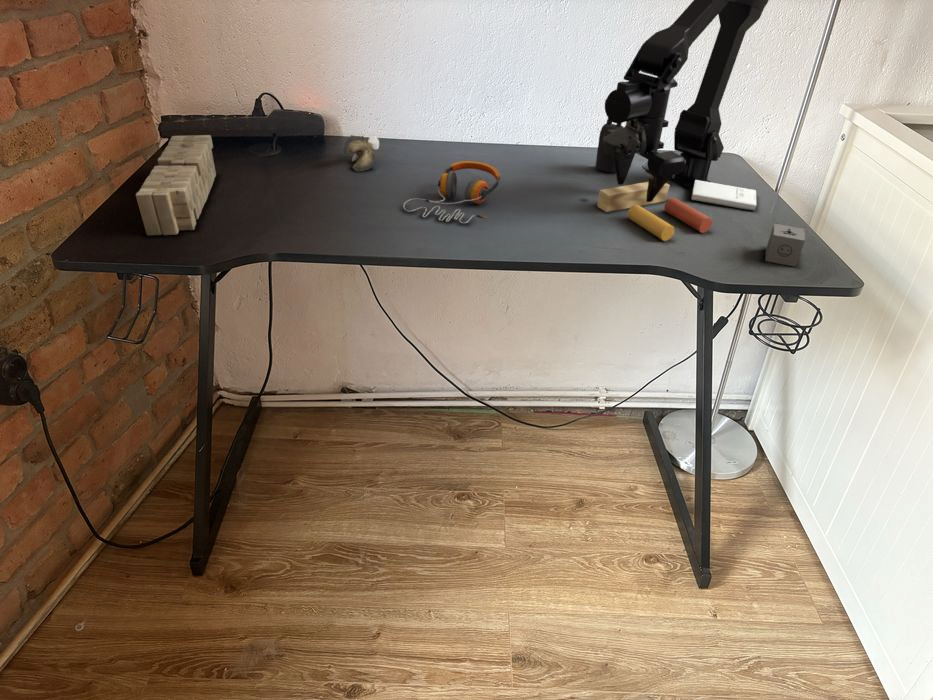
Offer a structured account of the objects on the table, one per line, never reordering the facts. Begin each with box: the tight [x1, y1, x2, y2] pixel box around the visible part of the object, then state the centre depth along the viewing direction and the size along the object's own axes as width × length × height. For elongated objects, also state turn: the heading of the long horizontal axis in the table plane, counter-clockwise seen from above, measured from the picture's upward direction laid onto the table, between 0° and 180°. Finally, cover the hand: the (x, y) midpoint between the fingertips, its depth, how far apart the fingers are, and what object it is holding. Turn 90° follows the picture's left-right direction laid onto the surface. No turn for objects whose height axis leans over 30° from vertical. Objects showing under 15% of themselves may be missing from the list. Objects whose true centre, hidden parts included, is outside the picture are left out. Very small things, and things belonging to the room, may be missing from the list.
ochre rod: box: [627, 205, 675, 242], centre depth 128 cm, size 3×10×3 cm, turn 26°
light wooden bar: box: [597, 181, 670, 213], centre depth 137 cm, size 15×3×4 cm, turn 116°
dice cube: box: [764, 223, 806, 267], centre depth 120 cm, size 5×5×5 cm
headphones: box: [402, 160, 501, 224], centre depth 134 cm, size 17×5×20 cm
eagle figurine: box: [341, 134, 380, 172], centre depth 149 cm, size 8×7×9 cm
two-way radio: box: [595, 117, 625, 174], centre depth 148 cm, size 6×4×15 cm
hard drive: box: [690, 180, 757, 211], centre depth 141 cm, size 2×8×12 cm
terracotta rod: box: [664, 197, 713, 234], centre depth 131 cm, size 3×10×3 cm, turn 26°
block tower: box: [135, 134, 217, 236], centre depth 128 cm, size 8×8×29 cm
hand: (634, 192), depth 137 cm, fingers open, 9 cm apart
